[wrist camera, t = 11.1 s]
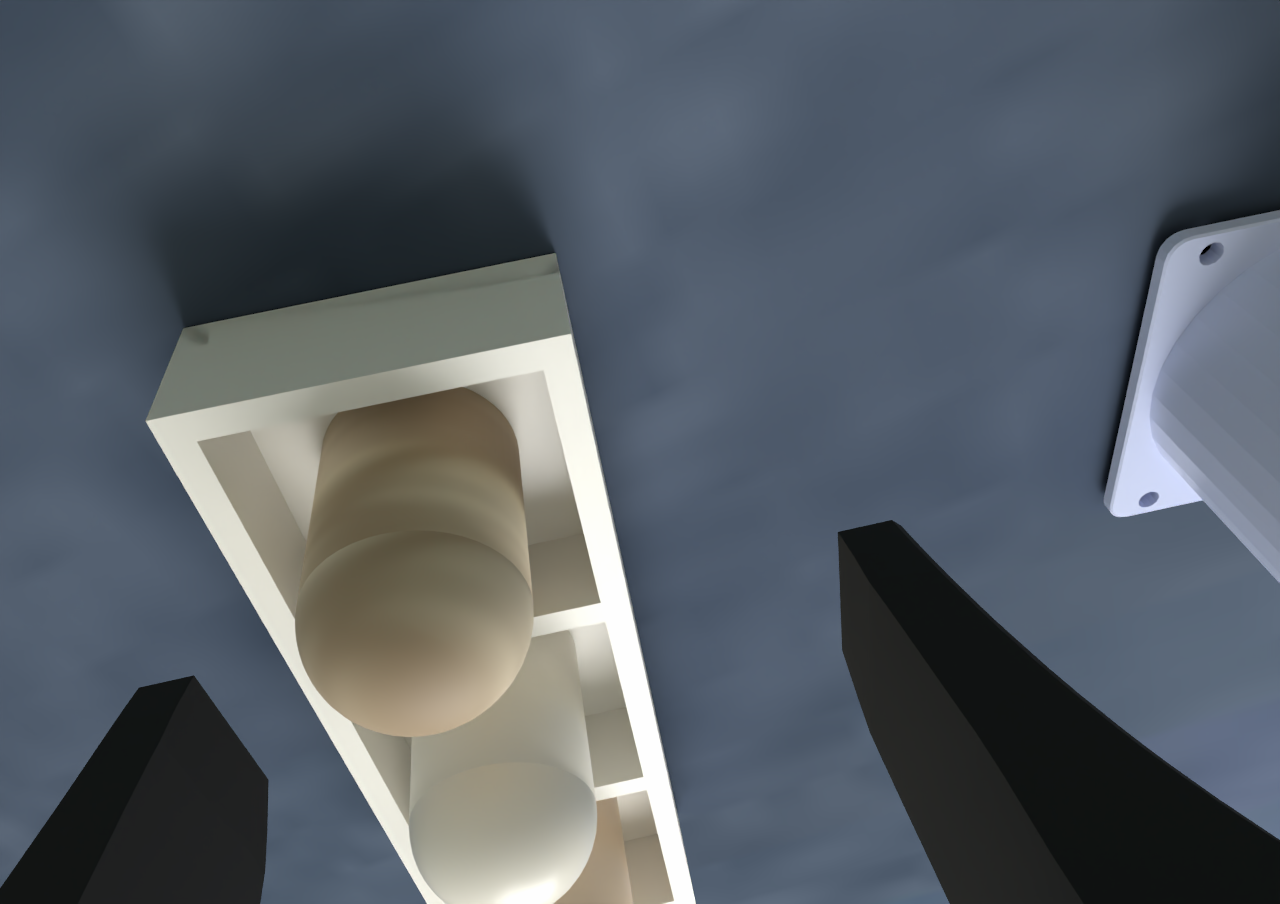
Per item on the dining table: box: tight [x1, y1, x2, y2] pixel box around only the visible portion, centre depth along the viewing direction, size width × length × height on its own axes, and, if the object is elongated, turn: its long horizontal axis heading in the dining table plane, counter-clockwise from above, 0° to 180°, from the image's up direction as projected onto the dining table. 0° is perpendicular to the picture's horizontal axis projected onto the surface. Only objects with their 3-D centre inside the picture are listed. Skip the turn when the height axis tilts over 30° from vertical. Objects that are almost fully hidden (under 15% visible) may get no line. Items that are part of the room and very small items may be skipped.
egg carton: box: [146, 253, 696, 904], centre depth 22 cm, size 7×20×7 cm, turn 9°
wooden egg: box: [295, 387, 534, 737], centre depth 18 cm, size 4×4×6 cm
